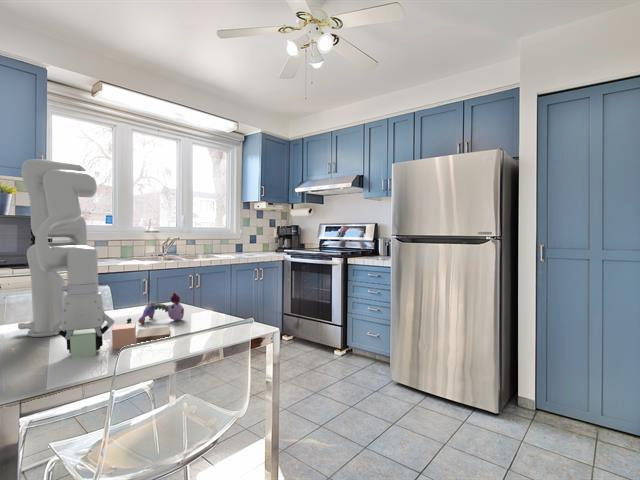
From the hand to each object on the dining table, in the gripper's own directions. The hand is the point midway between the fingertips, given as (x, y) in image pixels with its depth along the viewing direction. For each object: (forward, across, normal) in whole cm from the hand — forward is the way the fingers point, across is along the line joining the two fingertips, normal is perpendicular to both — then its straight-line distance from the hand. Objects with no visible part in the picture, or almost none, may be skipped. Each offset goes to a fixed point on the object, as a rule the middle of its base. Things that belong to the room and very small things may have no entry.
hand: (85, 349), depth 107 cm
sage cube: (+1, 0, 0) cm, 1 cm away
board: (+1, +18, +10) cm, 21 cm away
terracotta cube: (+1, +10, +4) cm, 11 cm away
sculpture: (+2, +10, +25) cm, 27 cm away
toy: (+1, +21, +30) cm, 37 cm away
